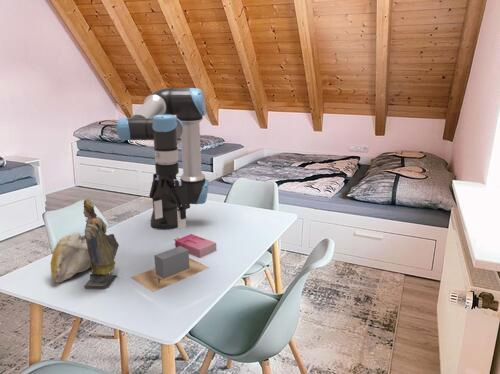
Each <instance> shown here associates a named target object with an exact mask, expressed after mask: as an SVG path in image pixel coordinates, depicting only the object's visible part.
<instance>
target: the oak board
mask: <svg viewBox="0 0 500 374" xmlns="http://www.w3.org/2000/svg"><path fill="white" fill-rule="evenodd" d="M189 269H190V270H189V271H187V272H184V273H182V274H180V275H177V276H175V277H172V278H170V279H167V280H165V281H163V280H162V279H160V278H158V277H156V271H155V267H154V268H152V269H150V270H147V271H144V272H142V273H139V274H137V275H133V276H132V277H130V279H132V280H134V281H135V282H137V283H138V284H139V285H142V286H143V287H145V288H146V289H147V290H149V291H150V292H153V293H155V292H156V291H160V290H161V289H163V288H166V287H168V286H170V285H172V284H175V283H178V282H181V281H182V280H185V279H186V278H190V277H191V276H194V275H196V274H198V273H201V272H202V271H205V270H207V269H210V267H209V266H207V265H205V264H203V263H201V262H198V261H196V260H194V259H193V258H190V257H189Z"/></svg>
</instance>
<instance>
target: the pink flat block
mask: <svg viewBox="0 0 500 374" xmlns="http://www.w3.org/2000/svg"><path fill="white" fill-rule="evenodd" d="M174 241H175V242H174V244H175V247H174V248H176V247H179V246H181V247H183V248H186V249H188V250H189V255H192V256H194V257H196V258H198V259H199V258H203V257H205V256H207V255H209V254H212V253H214V252H216V251H217V242H215V241H212V240H210V239H207V238H204V237H201V236H198V235H195V234H192V233H190V234H188V235H185V236H182V237H179V236H178V237H175V238H174Z"/></svg>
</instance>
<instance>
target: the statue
mask: <svg viewBox="0 0 500 374" xmlns="http://www.w3.org/2000/svg"><path fill="white" fill-rule="evenodd" d="M83 215H84V217H85V228H84V235H82V236H81V237H80V239H81V240H82V241H83V240H84V239H86V243H87V248H88V253H89V256H90V260H91V267H90V268H91V273H90V274H89V280H88V281H87V283H86V284H85V285H84V289H87V290H89V289H90V290H91V289H93V290H94V289H95V290H97V289H98V290H100V289H101V290H102V289H105V290H106V289H108V288H109V287H110V286H111V285H112V283H113V282H114V281H115V280H116V278H117V274H113V273H112V274H111V272H112V271H113V270H114V269H115V267H116V266H115V265H116V262H115V259H116V256H117V252H118V249H119V246H120V245H119V242H118V241H117V238H116V237H115V234H114V233H110V234H107V224H106V223H105V222H104V220H103V218H101V216H97V215H98V214H97V213H96V212H95V204H94V203H93V202H92V200H90V199H89V198H85V199H84V200H83Z"/></svg>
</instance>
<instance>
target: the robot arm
mask: <svg viewBox="0 0 500 374" xmlns="http://www.w3.org/2000/svg"><path fill="white" fill-rule="evenodd" d="M206 109H207V107H206V100H205V95H204V93H203V91H202V89H200V88H195V87H173V88H171V87H167V88H165V87H164V88H160V89H158V90H155V91H154V92H152V93H150V94H149V95H148V96H146V98H144V100H143V104H142V105H141V106H140V107H139V108H138V109H137V110H136V111H135V112H134V113H133V114H132V115H131V116H130V117H125V118H124V117H122V118H118V120H117V122H116V127H115V128H116V134H117V137H118V138H119V140H123V141H124V140H125V141H153V146H154V147H153V149H154V161H155V164H154V166H155V167H154V168H155V173H154V174H153V175H152V182H151V187H150V192H149V195H148V196H149V198H150V199H151V198H152V214H151V217H150V227H151V228H152V229H156V230H171V229H172V230H173V229H176V228H177V229H178V230H181V229H184V228H186V227H187V221H186V220H187V210H188V209H190V208H191V205H203V204H205V203H206V202H207V198H208V195H209V194H208V193H209V185H210V184H209V179H206V176H205V174H203V173H204V172H203V171H202V152H201V151H202V148H201V133H200V131H201V130H200V129H201V127H200V123H201V121H202V120H203V119H204V118H203V117H204V116H206V115H207V114H206V112H207V111H206ZM179 138H180V143H181V145H180V146H181V158H182V174H181V175H180V177H179V178H180V179H178V178H177V175H178V174H179V172H180V170H179V163H178V161H179V153H178V152H179V149H178V139H179Z"/></svg>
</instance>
